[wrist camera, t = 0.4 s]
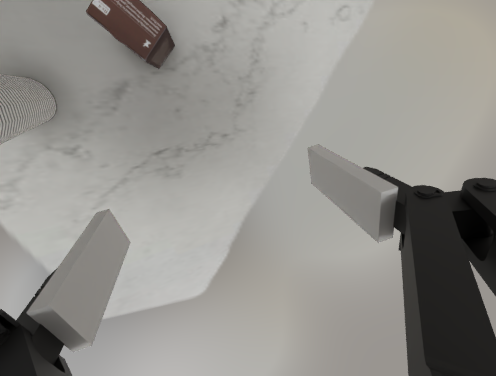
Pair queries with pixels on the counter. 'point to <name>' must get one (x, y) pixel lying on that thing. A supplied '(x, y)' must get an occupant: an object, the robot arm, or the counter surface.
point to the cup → (23, 105)
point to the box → (134, 28)
